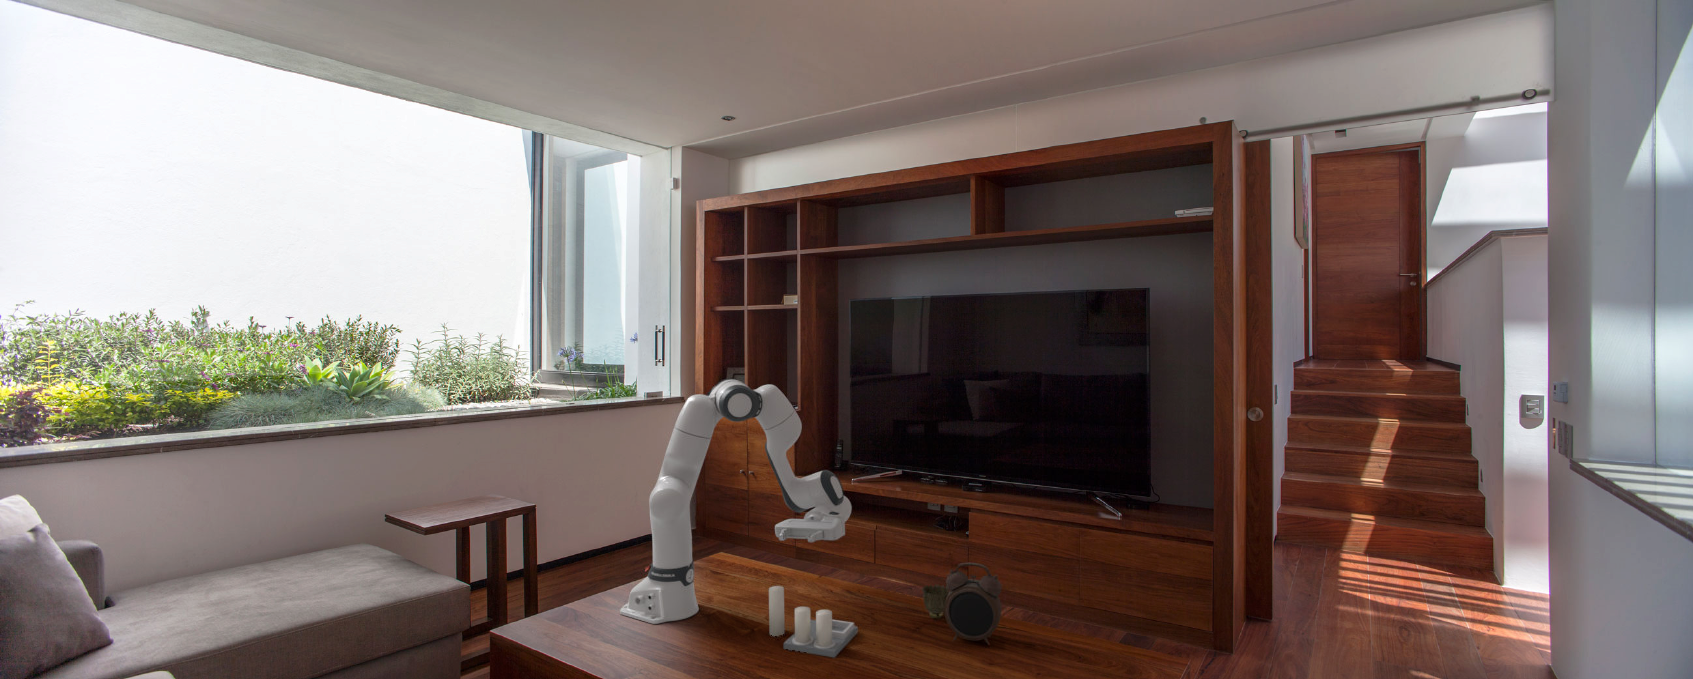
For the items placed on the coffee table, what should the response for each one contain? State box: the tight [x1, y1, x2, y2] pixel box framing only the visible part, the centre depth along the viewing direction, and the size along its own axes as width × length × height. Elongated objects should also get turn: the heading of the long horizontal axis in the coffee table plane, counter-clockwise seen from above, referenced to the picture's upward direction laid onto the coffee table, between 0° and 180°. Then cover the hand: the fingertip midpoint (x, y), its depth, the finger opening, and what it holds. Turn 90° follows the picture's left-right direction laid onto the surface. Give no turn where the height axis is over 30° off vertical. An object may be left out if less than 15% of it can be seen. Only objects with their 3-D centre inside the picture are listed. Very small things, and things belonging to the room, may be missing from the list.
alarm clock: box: [943, 562, 1003, 645], centre depth 187 cm, size 15×7×20 cm, turn 71°
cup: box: [922, 584, 950, 620], centre depth 203 cm, size 8×7×8 cm
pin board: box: [783, 606, 859, 658], centre depth 189 cm, size 14×16×10 cm
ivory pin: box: [768, 585, 785, 637], centre depth 194 cm, size 4×4×12 cm
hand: (795, 538), depth 204 cm, fingers open, 8 cm apart
